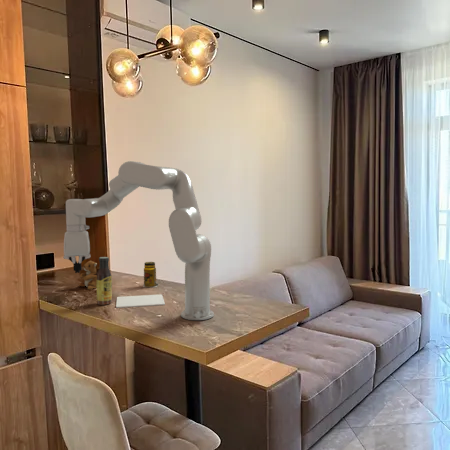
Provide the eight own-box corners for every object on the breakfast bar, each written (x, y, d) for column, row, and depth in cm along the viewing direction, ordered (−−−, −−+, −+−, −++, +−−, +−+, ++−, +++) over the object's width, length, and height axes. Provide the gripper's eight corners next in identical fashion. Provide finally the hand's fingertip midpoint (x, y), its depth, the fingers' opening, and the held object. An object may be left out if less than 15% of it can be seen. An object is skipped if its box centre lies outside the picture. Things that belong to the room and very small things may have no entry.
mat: (164, 304, 179) (164, 303, 179) (116, 307, 174) (116, 306, 174) (162, 295, 194) (161, 294, 194) (117, 297, 190) (117, 296, 190)
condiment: (142, 287, 209) (141, 263, 208) (144, 283, 218) (144, 260, 217) (157, 287, 210) (156, 263, 209) (159, 283, 218) (158, 260, 217)
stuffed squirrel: (77, 286, 212) (76, 260, 210) (104, 282, 221) (103, 257, 219) (85, 290, 204) (84, 263, 203) (112, 286, 213) (111, 260, 212)
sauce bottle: (106, 306, 177) (104, 259, 175) (93, 304, 179) (92, 258, 177) (115, 302, 183) (114, 256, 181) (103, 300, 185) (101, 256, 183)
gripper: (95, 227, 181) (96, 269, 183) (58, 228, 178) (60, 271, 179) (94, 229, 174) (95, 273, 175) (55, 230, 170) (57, 275, 172)
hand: (77, 272), depth 177 cm, fingers closed
